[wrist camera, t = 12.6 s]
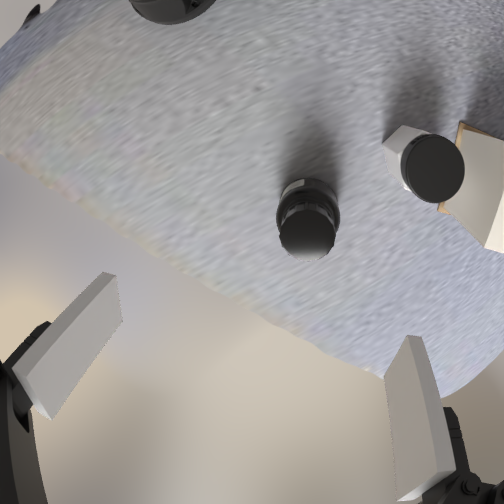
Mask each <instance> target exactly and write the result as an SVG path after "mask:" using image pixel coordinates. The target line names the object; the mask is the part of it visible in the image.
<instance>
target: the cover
mask: <svg viewBox="0 0 504 504" xmlns="http://www.w3.org/2000/svg"><path fill="white" fill-rule="evenodd" d="M459 150H460V152H461V154H462V156H463V159H464V164H465V176H464V180H463V183H462V185H461V187H460V189H459V191H458V192H457V193H456V194H455V195H454V196H453V197H452V198H450V199H449V200H447V201H445V203H444V206H443V207H444V208H445V209H446V210H447V211H448V212H449V213H450V214H451V215H452V216H453V217H454V218H455V219H456V220H457V221H458V222H459V223H460V224H461V225H462V226H463V227H464V228H465V229H466V230H467V231H468V232H469V233H470V234H471V235H472V236H473V237H474V238H475V239H476V240H477V241H478V242H479V243H480V244H481V245H482V246H483V247H484V248H486V249H490V250H493V251H497V252H500V253H504V141H503V140H500V139H496V138H493V137H490V136H486V135H483V134H479V133H476V132H472V131H468V130H465V129H463V132H462V137H461V141H460V146H459Z"/></svg>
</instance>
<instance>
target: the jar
mask: <svg viewBox="0 0 504 504" xmlns="http://www.w3.org/2000/svg"><path fill="white" fill-rule="evenodd" d="M382 147H383V151H384V155H385V160H386V164H387V169H388V173H389V174H390V175H391V176H392V177H393V178H394V179H395V180H396V181H397V182H398V183H399V184H400V185H401V186H402V187H403V188H404V189H406V190H409V191H412V192H413V193H414V194H415V195H416V196H417V197H418V198H420V199H421V200H423V201H426V202H429V203H441V202H445V201H447V200H449V199H450V198H452V197H453V196H454V195H455V194H456V193H457V192H458V191H459V189H460V187H461V185H462V183H463V180H464V176H465V164H464V159H463V156H462V154H461V152H460V150H459V149H458V148H457V146H456V145H455V144H454V143H452V142H451V141H450V140H448V139H447V138H444V137H442V136H440V135H436V134H431V133H429V132H427V131H424V130H421V129H416V128H413V127H409V126H405V125H401V126H400V127H399V128H398V129H397V130H396V131H395V132H394V133H393V134H392V135H391V136H390V137H389V138H388V139H387V140H386V141H385V142H384V143H383V144H382Z"/></svg>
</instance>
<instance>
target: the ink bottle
mask: <svg viewBox="0 0 504 504" xmlns="http://www.w3.org/2000/svg"><path fill="white" fill-rule="evenodd" d="M276 223H277V227H278V230H279V232H280V235H279V238H280V240H281V244H282V247H283V248H284V249H285V251H286V252H287V253H288V254H289V255H290V256H292V257H294V258H296V259H297V260H303V261H308V262H309V261H313V260H319V259H320V258H322V257H323V256H325V255H327V254H328V253H329V251H330V250H331V248H332V247H333V246H334V241H335V237H336V232H337V230H338V228H339V224H340V211H339V207H338V203H337V199H336V196H335V194H334V192H333V190H332V189H331V188H330V187H329V186H328V185H327V184H325V183H324V182H322V181H319V180H317V179H312V178H303V179H299V180H296V181H294V182H292V183H291V184H289V185H288V186H287V188H286V189H285V190H284V192H283V194H282V196H281V199H280V202H279V205H278V209H277V213H276Z"/></svg>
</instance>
